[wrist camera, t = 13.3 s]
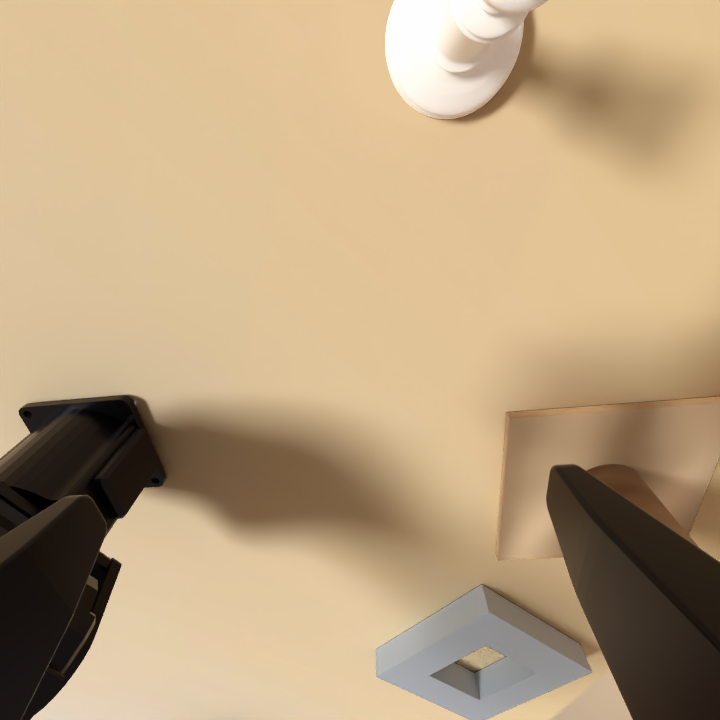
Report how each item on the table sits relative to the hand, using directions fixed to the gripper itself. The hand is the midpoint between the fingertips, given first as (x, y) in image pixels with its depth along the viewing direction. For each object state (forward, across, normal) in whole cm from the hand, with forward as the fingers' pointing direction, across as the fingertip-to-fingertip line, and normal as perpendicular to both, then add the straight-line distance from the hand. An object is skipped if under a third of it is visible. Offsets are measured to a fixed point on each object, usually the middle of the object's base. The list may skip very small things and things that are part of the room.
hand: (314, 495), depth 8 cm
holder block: (+13, -7, +32) cm, 35 cm away
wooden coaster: (+13, -14, +14) cm, 24 cm away
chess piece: (+13, -5, -9) cm, 17 cm away
